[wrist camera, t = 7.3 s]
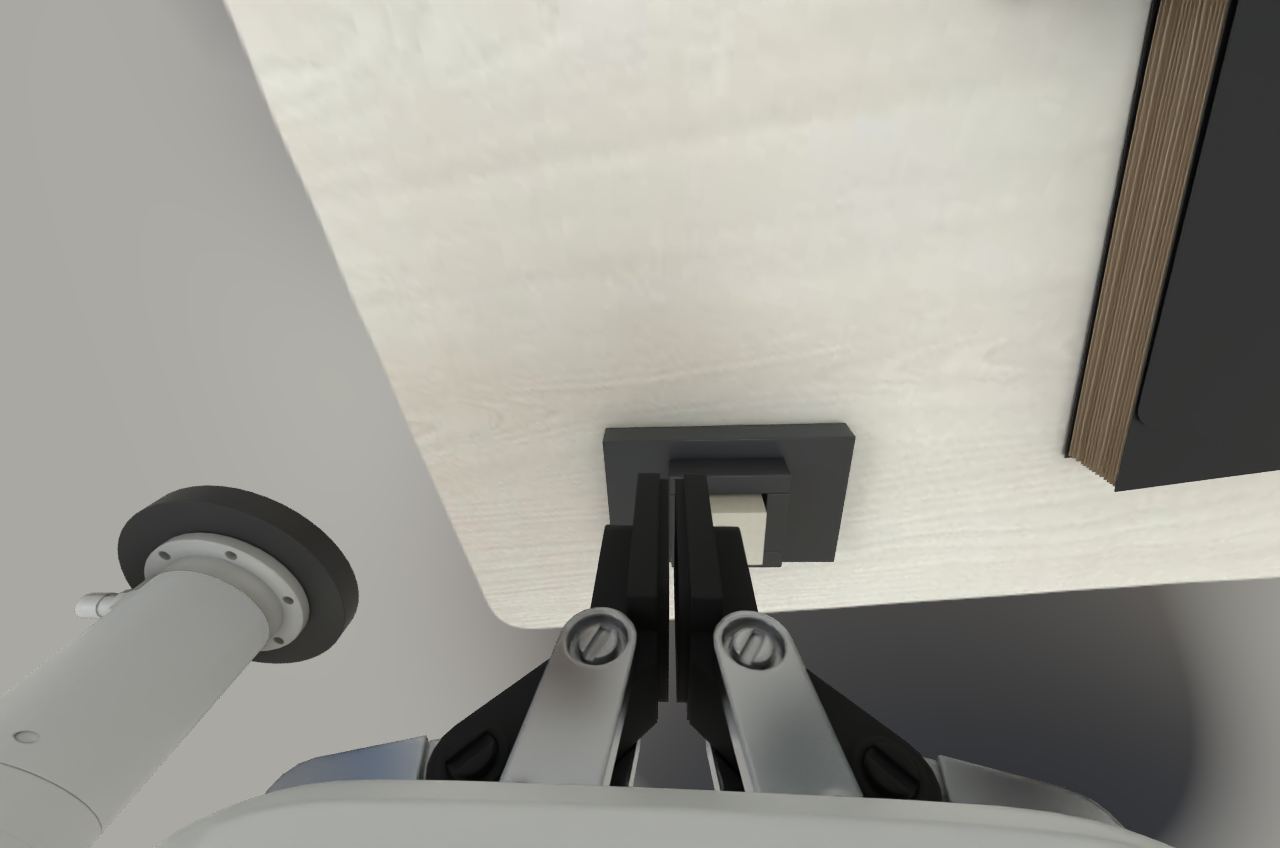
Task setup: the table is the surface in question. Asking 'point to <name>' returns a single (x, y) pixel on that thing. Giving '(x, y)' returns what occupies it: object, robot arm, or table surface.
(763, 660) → the robot arm
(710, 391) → the table surface
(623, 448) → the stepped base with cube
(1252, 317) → the file folder
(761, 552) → the key
